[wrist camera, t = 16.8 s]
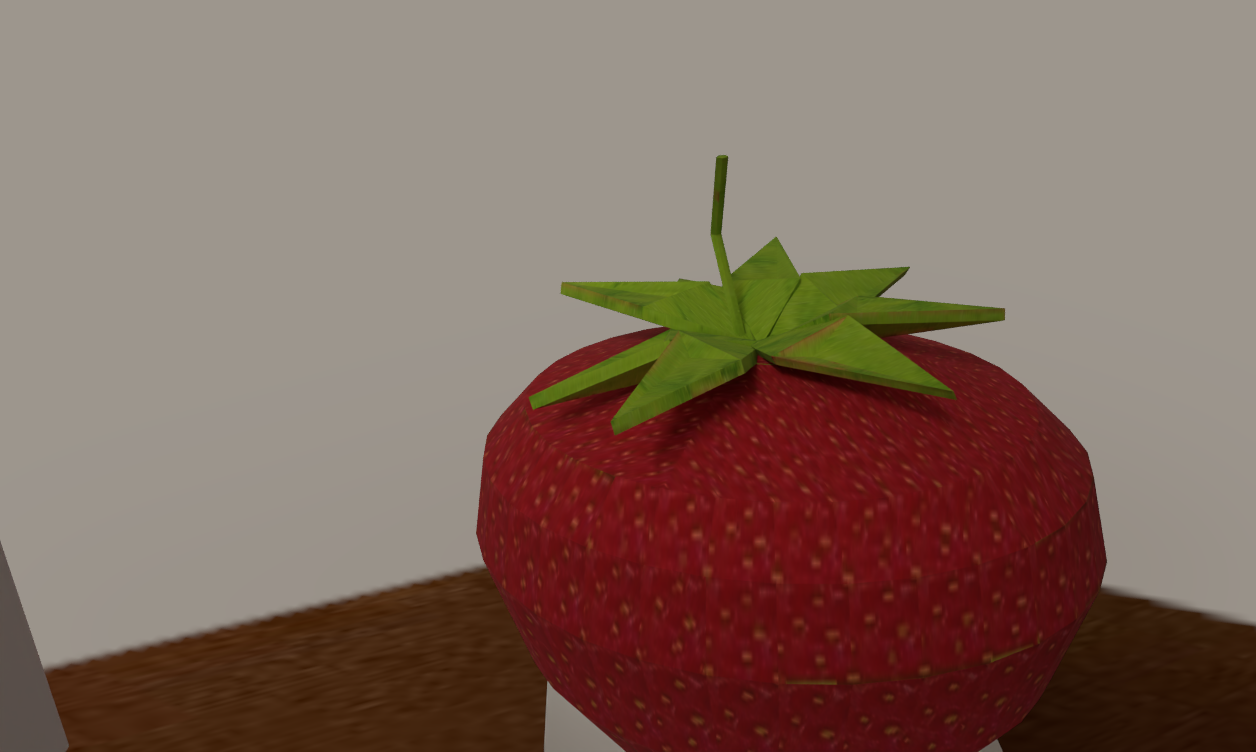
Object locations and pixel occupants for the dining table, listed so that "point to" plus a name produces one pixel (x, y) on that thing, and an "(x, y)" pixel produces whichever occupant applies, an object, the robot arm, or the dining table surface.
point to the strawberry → (789, 519)
